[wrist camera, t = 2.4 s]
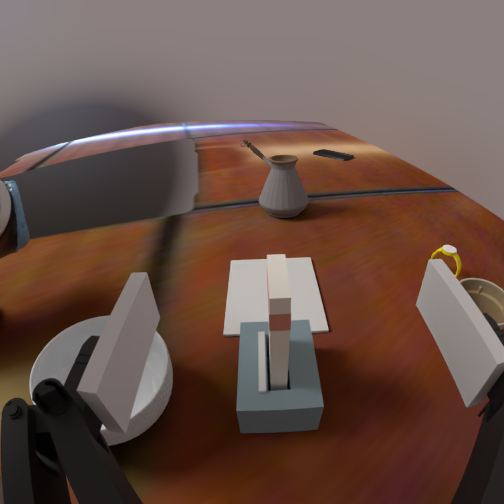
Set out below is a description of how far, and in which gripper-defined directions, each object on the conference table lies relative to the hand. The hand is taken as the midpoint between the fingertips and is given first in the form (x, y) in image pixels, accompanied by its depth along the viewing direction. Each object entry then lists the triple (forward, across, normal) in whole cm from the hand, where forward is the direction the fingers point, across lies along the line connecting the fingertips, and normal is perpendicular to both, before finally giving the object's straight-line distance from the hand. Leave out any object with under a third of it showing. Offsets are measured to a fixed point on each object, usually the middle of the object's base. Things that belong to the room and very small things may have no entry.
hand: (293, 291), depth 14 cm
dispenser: (+10, 0, -22) cm, 24 cm away
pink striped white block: (+10, 0, -21) cm, 23 cm away
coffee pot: (+62, +1, -22) cm, 65 cm away
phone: (+109, +28, -22) cm, 115 cm away
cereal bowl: (+7, -19, -22) cm, 30 cm away
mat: (+28, 0, -22) cm, 35 cm away
